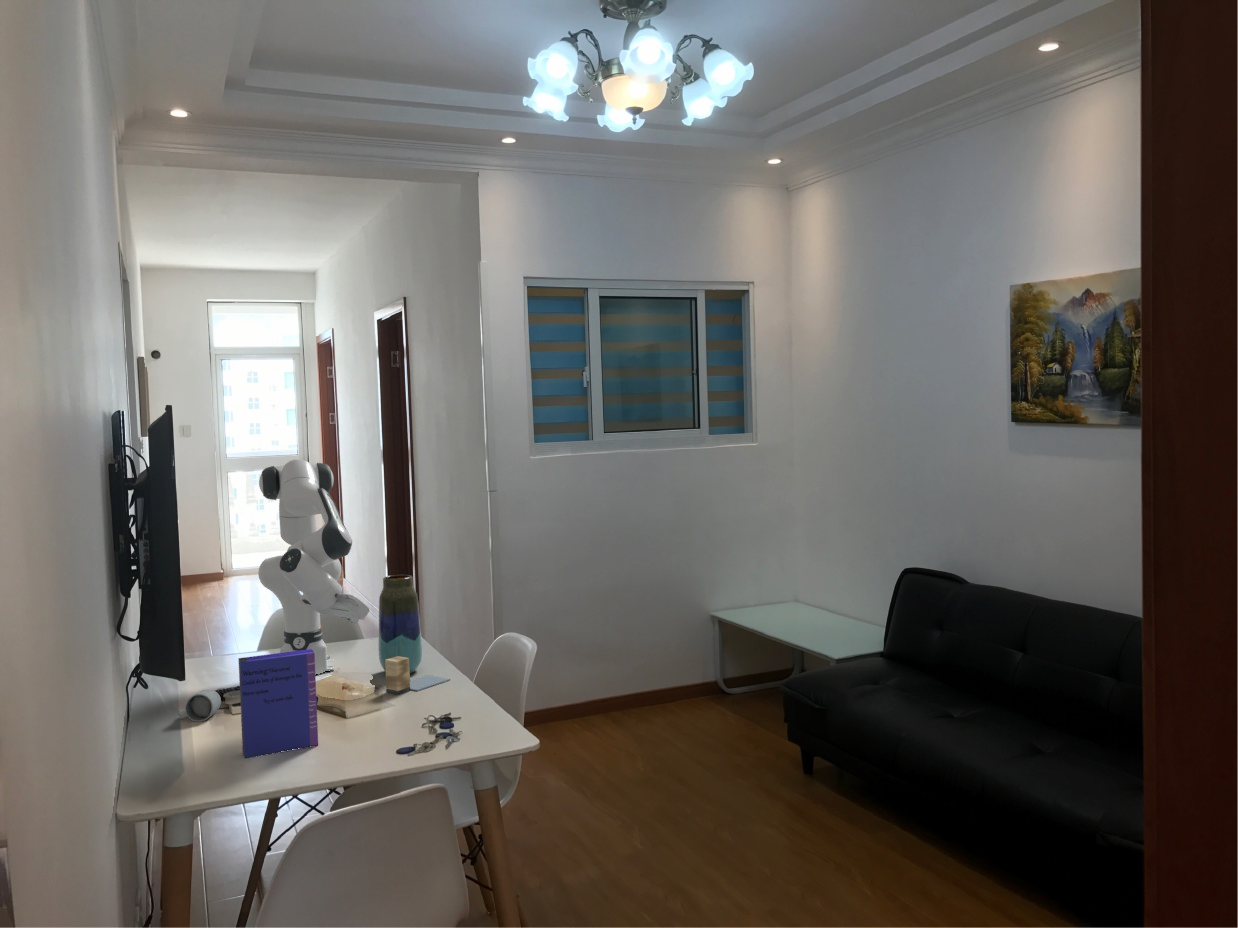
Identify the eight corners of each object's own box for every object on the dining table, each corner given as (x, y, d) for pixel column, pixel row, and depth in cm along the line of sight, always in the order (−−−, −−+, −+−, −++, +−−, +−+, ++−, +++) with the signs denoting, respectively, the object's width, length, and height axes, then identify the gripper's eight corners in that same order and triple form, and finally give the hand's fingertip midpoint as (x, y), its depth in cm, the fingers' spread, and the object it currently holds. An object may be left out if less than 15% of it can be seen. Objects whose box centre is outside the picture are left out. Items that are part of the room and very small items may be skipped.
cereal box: (315, 740, 246) (311, 648, 245) (318, 745, 241) (314, 651, 240) (242, 752, 238) (238, 657, 237) (244, 758, 233) (240, 661, 232)
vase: (419, 664, 320) (416, 572, 319) (426, 674, 307) (422, 578, 306) (377, 669, 315) (373, 575, 314) (382, 679, 302) (378, 581, 301)
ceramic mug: (223, 712, 272) (221, 685, 272) (213, 720, 264) (211, 693, 264) (185, 714, 272) (183, 687, 271) (174, 723, 263) (172, 696, 263)
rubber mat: (417, 691, 288) (417, 689, 288) (394, 686, 294) (394, 685, 294) (450, 680, 300) (450, 678, 300) (427, 675, 305) (427, 674, 305)
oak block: (397, 694, 285) (396, 661, 285) (386, 692, 288) (385, 659, 287) (410, 690, 289) (409, 658, 289) (398, 688, 292) (397, 656, 292)
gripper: (356, 586, 262) (384, 615, 271) (308, 581, 274) (337, 609, 282) (343, 605, 259) (373, 634, 267) (296, 599, 270) (325, 626, 279)
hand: (354, 621), depth 275 cm, fingers closed
